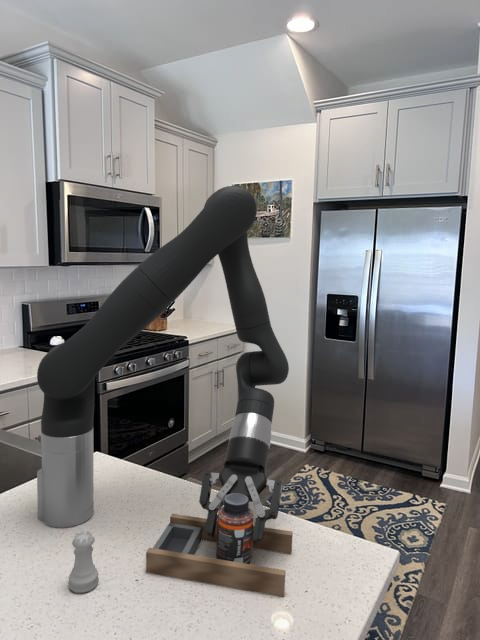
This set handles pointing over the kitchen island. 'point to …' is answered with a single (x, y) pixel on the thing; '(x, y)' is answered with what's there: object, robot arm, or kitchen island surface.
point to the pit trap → (179, 539)
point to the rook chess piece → (83, 564)
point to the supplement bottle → (235, 529)
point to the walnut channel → (223, 562)
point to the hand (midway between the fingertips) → (232, 539)
